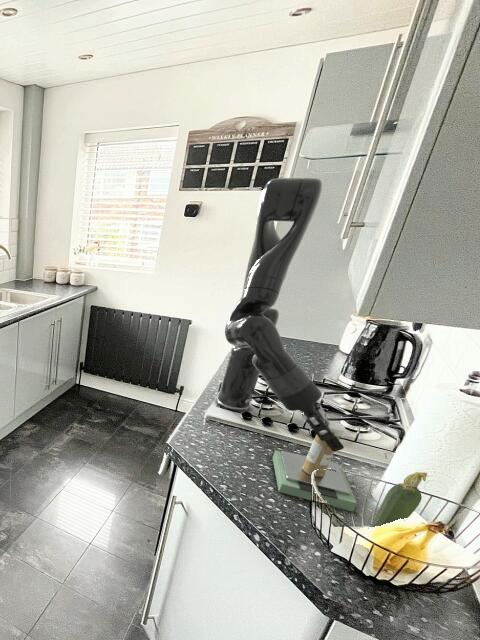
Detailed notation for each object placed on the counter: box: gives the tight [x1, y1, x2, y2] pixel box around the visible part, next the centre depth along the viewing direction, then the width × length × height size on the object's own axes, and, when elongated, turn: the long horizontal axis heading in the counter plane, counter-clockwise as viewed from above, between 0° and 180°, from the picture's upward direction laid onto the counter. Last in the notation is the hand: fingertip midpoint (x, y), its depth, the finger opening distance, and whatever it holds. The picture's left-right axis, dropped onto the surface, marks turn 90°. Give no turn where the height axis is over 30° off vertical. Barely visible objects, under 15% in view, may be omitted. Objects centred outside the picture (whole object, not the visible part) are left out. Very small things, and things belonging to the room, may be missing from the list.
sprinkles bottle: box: [302, 419, 346, 477], centre depth 100 cm, size 5×5×13 cm
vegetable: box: [369, 471, 429, 527], centre depth 80 cm, size 4×4×20 cm
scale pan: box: [279, 450, 350, 496], centre depth 104 cm, size 13×12×1 cm
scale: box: [272, 450, 358, 512], centre depth 103 cm, size 16×14×3 cm
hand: (334, 440), depth 98 cm, fingers open, 8 cm apart
